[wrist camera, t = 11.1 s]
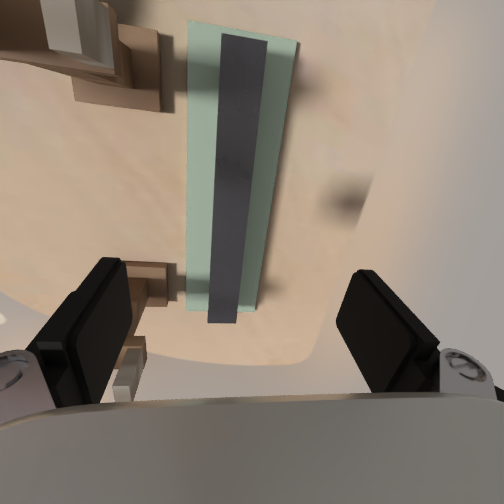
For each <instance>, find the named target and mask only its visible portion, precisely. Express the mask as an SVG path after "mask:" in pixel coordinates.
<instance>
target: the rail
mask: <svg viewBox="0 0 504 504" xmlns="http://www.w3.org/2000/svg"><path fill="white" fill-rule="evenodd" d="M267 44H268V41H264V40H259V39H253V38H248V37H242V36H236V35H231V34H225V33H221V53H220V74H219V94H218V115H217V136H216V156H215V177H214V198H213V218H212V239H211V260H210V280H209V301H208V322H207V323H236V319H237V310H238V301H239V292H240V283H241V275H242V266H243V257H244V248H245V239H246V230H247V221H248V213H249V204H250V195H251V186H252V177H253V168H254V159H255V151H256V142H257V133H258V124H259V115H260V106H261V97H262V89H263V80H264V71H265V62H266V53H267Z"/></svg>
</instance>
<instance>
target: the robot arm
mask: <svg viewBox="0 0 504 504" xmlns="http://www.w3.org/2000/svg"><path fill="white" fill-rule="evenodd" d="M132 319H133V314H132V306H131V298H130V291H129V283H128V276H127V268H126V263H125V262H121V260H120V258H112V257H102V258H101V259H100V260H99V261H98V263H97V264H96V265H95V267H94V268H93V269H92V270H91V272H90V273H89V274H88V276H87V277H86V278H85V279H84V281H83V282H82V283H81V285H80V286H79V287H78V288H77V290H76V291H73V292H71V293H70V294H69V295H68V296H67V298H66V299H65V300H64V301H63V303H62V304H61V305H60V306H59V308H58V309H57V310H56V311H55V313H54V314H53V315H52V316H51V318H50V319H49V320H48V322H47V323H46V324H45V325H44V327H43V328H42V329H41V330H40V331H39V333H38V334H37V335H36V336H35V338H34V339H33V340H32V341H31V343H30V344H29V345H28V347H27V348H26V349H25V350H12V351H6V352H3V353H0V504H504V390H502V389H500V388H498V387H496V386H494V383H493V379H492V376H491V374H490V372H489V371H488V370H487V369H486V367H485V366H483V365H482V364H481V363H480V362H479V361H478V360H476V359H475V358H473V357H472V356H470V355H468V354H466V353H464V352H462V351H459V350H456V349H451V348H447V349H443V350H442V351H441V352H440V351H439V350H438V349H437V346H438V345H439V343H440V341H439V340H438V339H437V338H436V337H435V336H434V335H433V334H432V333H431V332H430V331H429V329H427V327H426V326H425V325H424V324H423V323H422V322H421V321H420V320H419V319H418V318H417V317H416V315H415V314H413V312H412V311H411V310H410V309H409V308H408V307H407V306H406V305H405V304H404V303H403V302H402V300H401V299H399V297H398V296H397V295H396V294H395V293H394V292H393V291H392V290H391V289H390V288H389V287H388V285H387V284H386V283H385V282H384V281H383V280H382V279H381V278H380V277H379V276H378V275H377V274H376V273H375V272H374V271H373V270H362V269H360V270H358V271H357V272H356V273H354V274H353V275H352V278H351V280H350V283H349V286H348V288H347V291H346V294H345V297H344V299H343V302H342V304H341V307H340V310H339V312H338V315H337V318H336V325H337V328H338V330H339V331H340V333H341V335H342V337H343V339H344V341H345V343H346V345H347V347H348V348H349V350H350V352H351V354H352V356H353V358H354V360H355V362H356V363H357V365H358V367H359V369H360V371H361V373H362V375H363V377H364V379H365V381H366V382H367V384H368V386H369V388H370V390H371V392H372V393H350V394H316V395H283V396H253V397H225V398H201V399H200V398H198V399H175V400H173V399H172V400H151V401H131V402H114V403H100V401H101V399H102V396H103V394H104V391H105V389H106V386H107V384H108V381H109V379H110V376H111V374H112V371H113V369H114V366H115V364H116V361H117V359H118V356H119V354H120V352H121V349H122V347H123V344H124V342H125V339H126V337H127V334H128V332H129V329H130V327H131V324H132Z"/></svg>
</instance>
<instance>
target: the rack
mask: <svg viewBox="0 0 504 504" xmlns="http://www.w3.org/2000/svg"><path fill="white" fill-rule="evenodd" d="M0 60H7V61H14V62H20V63H27V64H30V65H34V66H37V67H41V68H44V69H48V70H51V71H55V72H58V73H62V74H65V75H69V76H71V78H72V85H73V91H74V97H75V101H78V102H86V103H93V104H101V105H108V106H116V107H124V108H131V109H139V110H146V111H154V112H162V86H161V55H160V34H159V33H158V31H157V30H153V29H147V28H142V27H136V26H130V25H125V24H119V23H117V13H116V11H115V10H114V9H113V8H112V7H111V6H110V5H109V4H108V3H104V2H100V1H99V0H0ZM121 262H125V263H126V268H127V276H128V283H129V291H130V298H131V306H132V314H133V319H132V324H131V327H130V329H129V332H128V334H127V337H126V339H125V342H124V344H123V347H122V349H121V352H120V354H119V356H118V359H117V361H116V364H115V366H114V369H119V370H118V373H117V375H116V378H115V380H114V383H113V386H112V388H113V393H114V399H115V402H131V401H134V397H135V394H136V391H137V387H138V384H139V381H140V378H141V374H142V371H143V369H144V367H145V363H146V360H147V352H146V340H145V336H134V333H135V331H136V328H137V326H138V323H139V321H140V318H141V316H142V313H143V311H144V308H145V307H167V304H168V274H167V263H155V262H134V261H121Z"/></svg>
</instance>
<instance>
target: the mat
mask: <svg viewBox="0 0 504 504" xmlns="http://www.w3.org/2000/svg"><path fill="white" fill-rule="evenodd" d="M221 33H225V34H231V35H236V36H242V37H248V38H253V39H259V40H264V41H268V44H267V53H266V62H265V71H264V80H263V89H262V97H261V106H260V115H259V124H258V133H257V142H256V151H255V159H254V168H253V177H252V186H251V195H250V204H249V213H248V221H247V230H246V239H245V248H244V257H243V266H242V275H241V283H240V292H239V301H238V310H237V312H255V305H256V299H257V293H258V286H259V280H260V273H261V267H262V261H263V254H264V248H265V242H266V235H267V229H268V222H269V216H270V210H271V203H272V197H273V191H274V184H275V178H276V171H277V165H278V159H279V152H280V146H281V140H282V133H283V127H284V120H285V114H286V108H287V101H288V95H289V89H290V82H291V76H292V69H293V63H294V57H295V50H296V44H297V41H296V40H291V39H286V38H280V37H275V36H270V35H264V34H259V33H254V32H248V31H243V30H238V29H232V28H227V27H222V26H217V25H211V24H206V23H201V22H195V21H190V20H188V62H187V225H186V311H208V301H209V280H210V260H211V239H212V218H213V198H214V177H215V156H216V136H217V115H218V94H219V74H220V53H221Z"/></svg>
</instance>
